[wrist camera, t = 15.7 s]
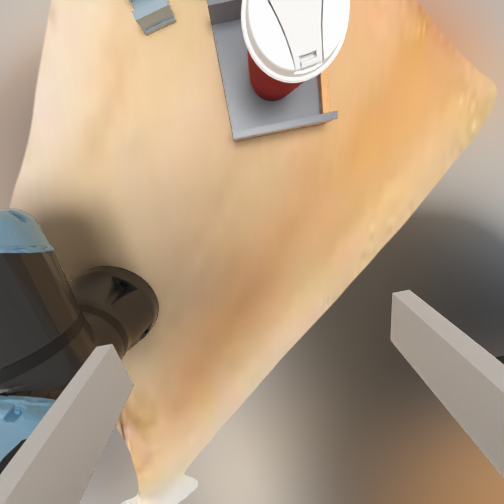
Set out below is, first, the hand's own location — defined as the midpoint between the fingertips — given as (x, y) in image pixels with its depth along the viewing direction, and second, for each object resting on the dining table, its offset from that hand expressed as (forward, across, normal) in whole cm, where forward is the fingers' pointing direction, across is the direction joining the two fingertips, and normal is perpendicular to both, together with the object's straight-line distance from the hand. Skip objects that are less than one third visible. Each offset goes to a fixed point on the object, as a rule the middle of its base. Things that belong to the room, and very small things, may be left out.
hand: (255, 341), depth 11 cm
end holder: (+29, +7, +17) cm, 34 cm away
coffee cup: (+28, +7, +17) cm, 34 cm away
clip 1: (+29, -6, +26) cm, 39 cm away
